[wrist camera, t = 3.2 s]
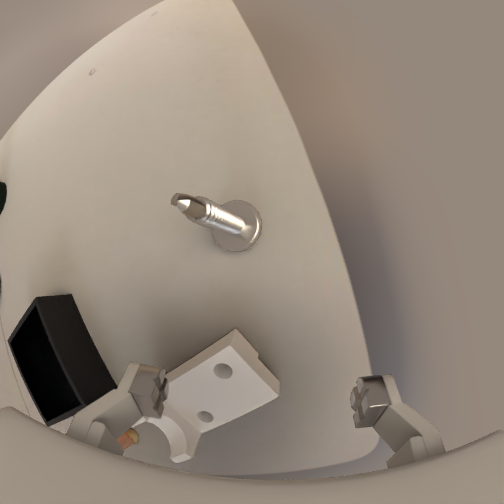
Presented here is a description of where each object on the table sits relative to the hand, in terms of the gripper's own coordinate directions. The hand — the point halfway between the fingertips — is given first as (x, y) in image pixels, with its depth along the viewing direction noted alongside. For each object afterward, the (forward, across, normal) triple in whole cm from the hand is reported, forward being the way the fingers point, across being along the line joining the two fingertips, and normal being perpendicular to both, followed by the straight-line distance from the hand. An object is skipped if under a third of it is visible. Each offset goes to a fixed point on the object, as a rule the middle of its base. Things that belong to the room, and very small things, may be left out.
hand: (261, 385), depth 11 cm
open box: (+15, +29, +22) cm, 39 cm away
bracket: (+11, +4, +16) cm, 20 cm away
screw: (+19, +2, +1) cm, 19 cm away
